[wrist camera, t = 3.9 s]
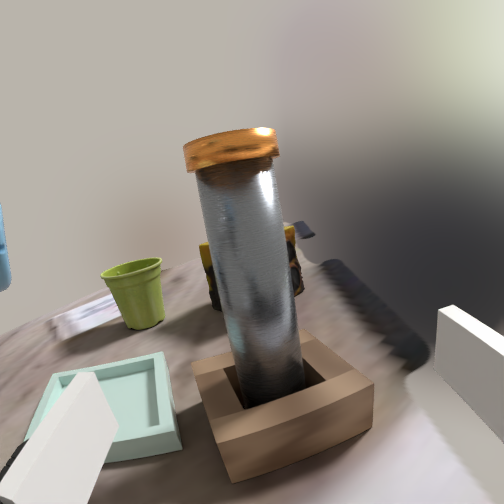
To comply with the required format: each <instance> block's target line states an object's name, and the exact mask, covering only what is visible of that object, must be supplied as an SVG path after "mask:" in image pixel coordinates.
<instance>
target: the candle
mask: <svg viewBox="0 0 504 504" xmlns="http://www.w3.org/2000/svg"><path fill="white" fill-rule="evenodd" d="M284 232H285V238H286V245H287V251H288V258H289V265H290V271H291V278H292V285H293V292H294V296H296V295H297V294H299V293H301V292H302V291H303V290H304V289H305V288H304V284H303V281H302V278H303V277H302V276H301V274H302V273H301V266H300V264H299V262H298V259H297V256H296V251H295V243H296V242H295V229H294V226H287V227H284ZM199 249H200V255H201V259H202V263H203V267H204V270H205V273H206V278H207V281H208V285H209V294H210V298H211V301H212V307H213V308H214V309H216V310H220V311H222V306H221V302H220V297H219V292H218V287H217V283H216V278H215V273H214V268H213V263H212V258H211V254H210V249H209V243H208V242H206V243H203V244H201V245H199Z"/></svg>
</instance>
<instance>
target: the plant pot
mask: <svg viewBox="0 0 504 504" xmlns="http://www.w3.org/2000/svg"><path fill="white" fill-rule="evenodd" d="M161 263H162V259H161V258H146V259H140V260H135V261H131V262H127V263H125V264H121V265H118V266H115V267H113V268H110V269H108V270H106V271H104V272H103V273H102V274H101V275H100V276H101V278H102V279H104V280H105V283H106V285H107V287H109V288H110V291H111V293H112V295H113V297H114V299H115V302H116V304H117V306H118V308H119V310H120V312H121V315H122V317H123V319H124V321H125V323H126V325H127V327H128V328H129V329H130V328H134V329H136V330H141V329H145V328H149V327H152V326H154V325H156V324H157V323H158V321H160V320H161V321H162V320H164V318H165V312H164V305H163V297H162V290H161V281H160V273H161V268H160V264H161Z"/></svg>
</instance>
